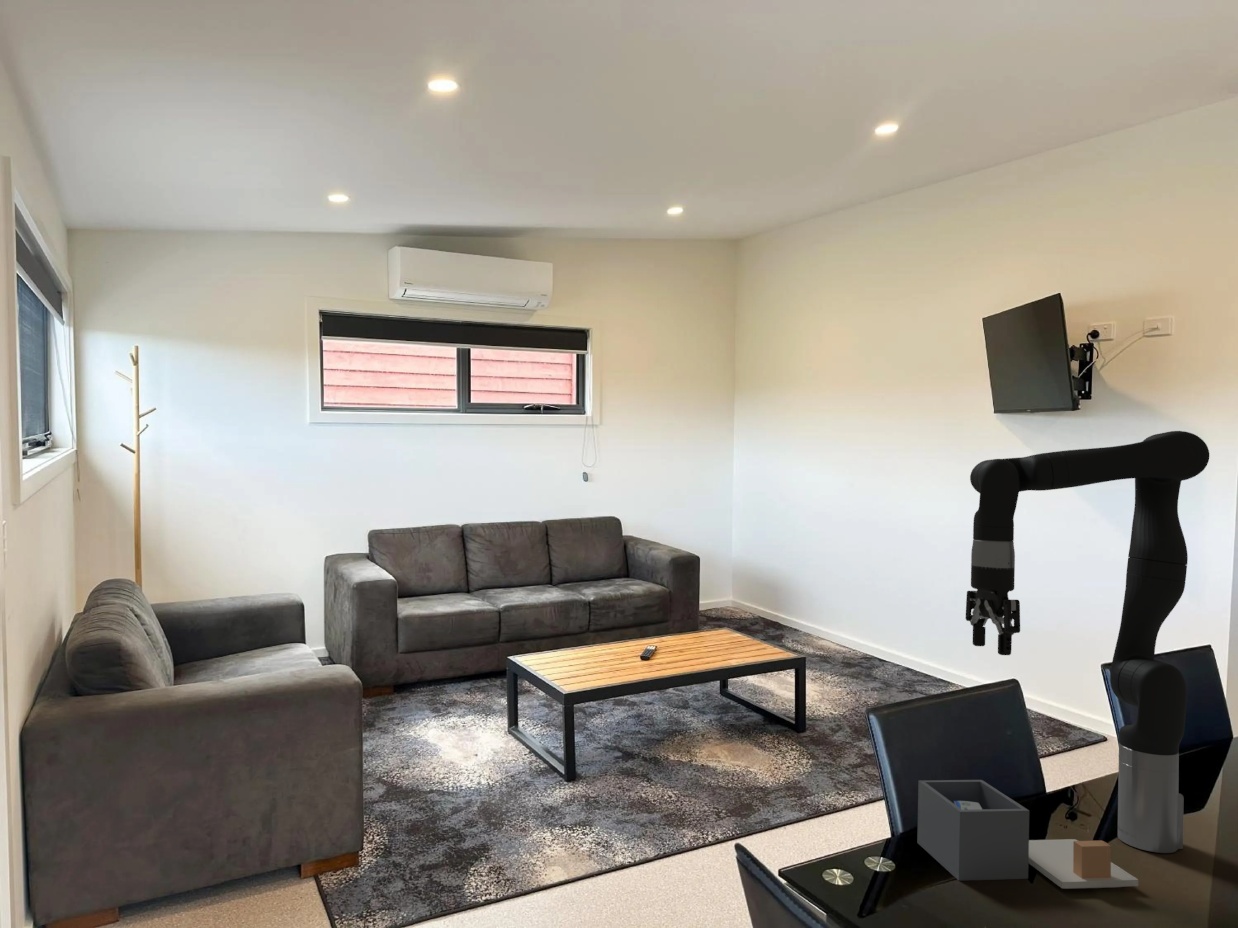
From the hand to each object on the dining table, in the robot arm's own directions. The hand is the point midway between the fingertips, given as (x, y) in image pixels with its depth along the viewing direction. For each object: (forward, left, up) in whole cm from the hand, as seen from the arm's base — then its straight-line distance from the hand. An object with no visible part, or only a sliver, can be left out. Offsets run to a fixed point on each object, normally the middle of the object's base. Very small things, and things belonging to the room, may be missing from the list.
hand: (991, 650), depth 155 cm
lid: (-4, +18, -33) cm, 38 cm away
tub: (+11, +13, -33) cm, 37 cm away
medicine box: (+11, +13, -33) cm, 37 cm away
